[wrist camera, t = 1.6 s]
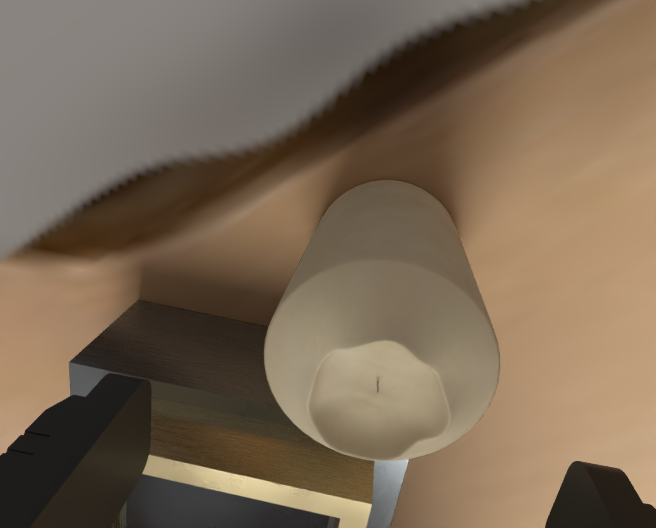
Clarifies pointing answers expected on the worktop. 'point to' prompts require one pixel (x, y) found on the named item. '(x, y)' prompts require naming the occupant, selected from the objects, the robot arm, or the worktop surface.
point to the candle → (383, 329)
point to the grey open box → (227, 433)
